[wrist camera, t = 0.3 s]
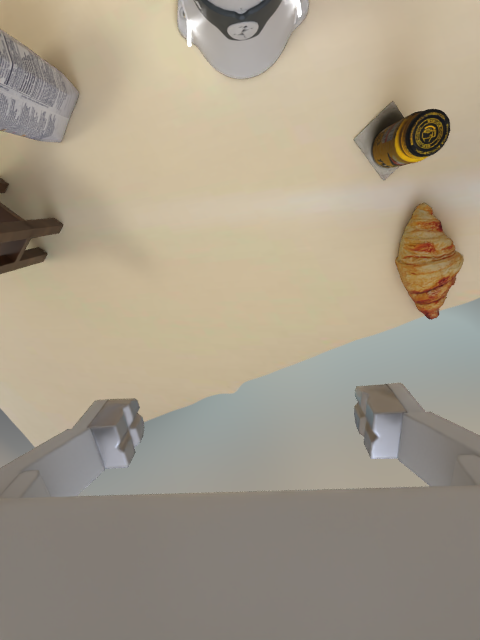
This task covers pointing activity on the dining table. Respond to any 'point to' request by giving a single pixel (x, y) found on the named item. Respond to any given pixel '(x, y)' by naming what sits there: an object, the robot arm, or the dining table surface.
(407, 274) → the croissant
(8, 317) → the dining table surface
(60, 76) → the juice carton
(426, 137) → the condiment
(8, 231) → the stand
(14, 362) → the dining table surface
